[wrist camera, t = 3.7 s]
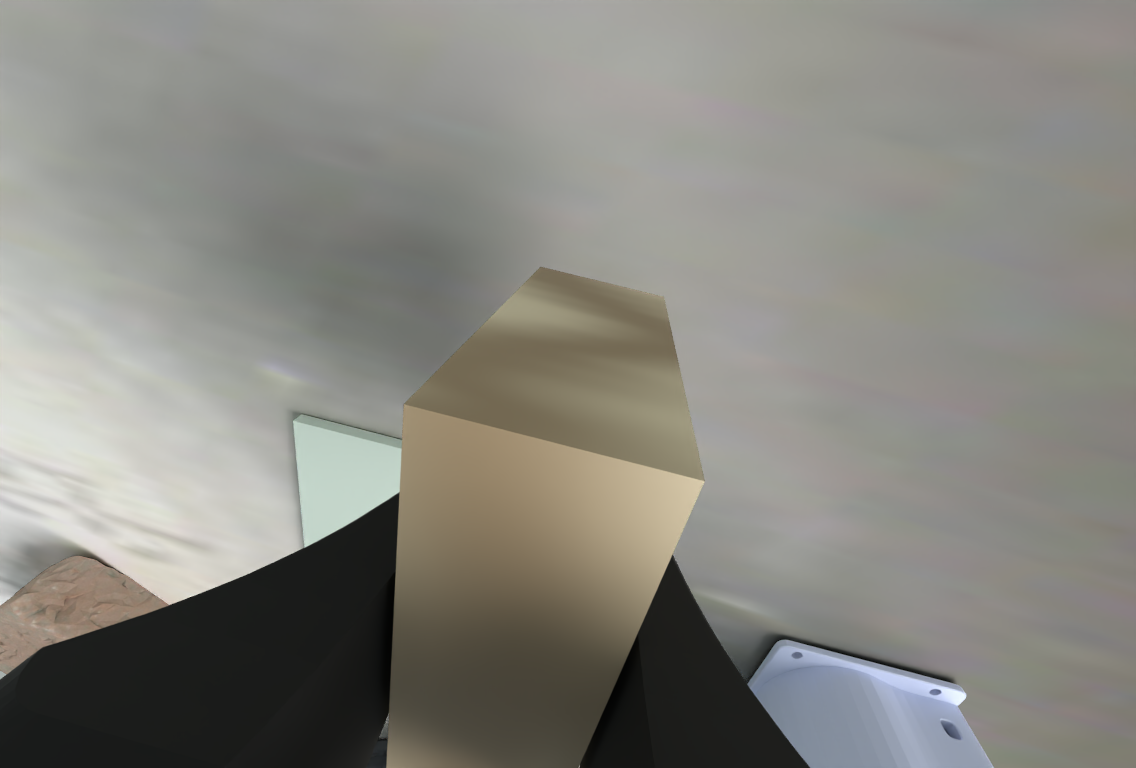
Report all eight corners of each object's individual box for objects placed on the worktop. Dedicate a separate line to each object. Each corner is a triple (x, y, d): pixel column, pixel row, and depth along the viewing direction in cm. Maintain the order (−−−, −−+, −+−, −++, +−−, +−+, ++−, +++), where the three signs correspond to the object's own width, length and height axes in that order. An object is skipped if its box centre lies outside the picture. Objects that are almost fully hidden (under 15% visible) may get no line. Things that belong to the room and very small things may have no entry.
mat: (638, 500, 20) (638, 509, 20) (554, 728, 29) (552, 738, 29) (301, 414, 21) (292, 420, 20) (321, 664, 30) (315, 673, 29)
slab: (663, 296, 11) (705, 481, 4) (580, 561, 15) (538, 857, 8) (540, 266, 11) (402, 404, 4) (492, 538, 15) (384, 812, 8)
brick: (297, 686, 32) (246, 764, 28) (239, 714, 35) (185, 788, 31) (90, 536, 28) (-7, 602, 24) (44, 584, 31) (-49, 649, 27)
